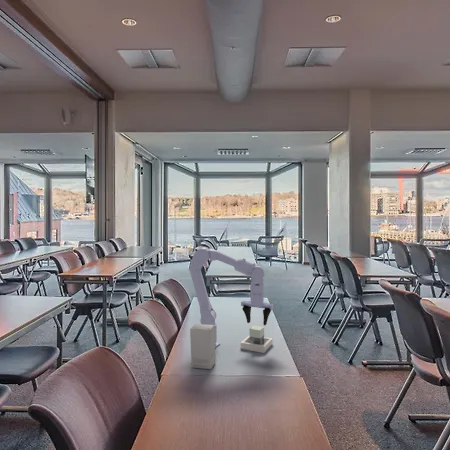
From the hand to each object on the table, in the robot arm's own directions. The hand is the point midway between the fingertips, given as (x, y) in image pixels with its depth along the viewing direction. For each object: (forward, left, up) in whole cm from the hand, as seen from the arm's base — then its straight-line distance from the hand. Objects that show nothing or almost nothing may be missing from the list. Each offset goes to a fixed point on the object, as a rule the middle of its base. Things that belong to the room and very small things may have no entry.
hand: (256, 323), depth 167 cm
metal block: (0, 0, -10) cm, 10 cm away
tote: (0, 0, -10) cm, 10 cm away
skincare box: (-28, +12, -11) cm, 32 cm away
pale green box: (0, 0, -5) cm, 5 cm away
